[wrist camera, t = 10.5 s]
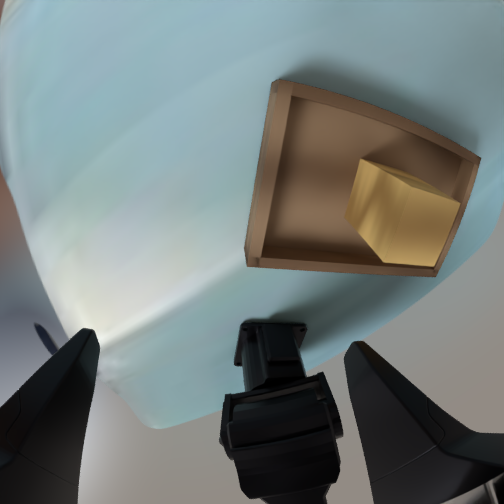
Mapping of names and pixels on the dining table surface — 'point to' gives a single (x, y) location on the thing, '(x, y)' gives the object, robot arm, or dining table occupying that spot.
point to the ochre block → (399, 214)
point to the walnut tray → (339, 179)
